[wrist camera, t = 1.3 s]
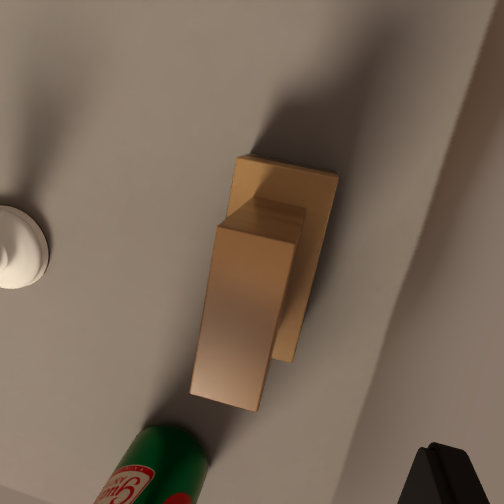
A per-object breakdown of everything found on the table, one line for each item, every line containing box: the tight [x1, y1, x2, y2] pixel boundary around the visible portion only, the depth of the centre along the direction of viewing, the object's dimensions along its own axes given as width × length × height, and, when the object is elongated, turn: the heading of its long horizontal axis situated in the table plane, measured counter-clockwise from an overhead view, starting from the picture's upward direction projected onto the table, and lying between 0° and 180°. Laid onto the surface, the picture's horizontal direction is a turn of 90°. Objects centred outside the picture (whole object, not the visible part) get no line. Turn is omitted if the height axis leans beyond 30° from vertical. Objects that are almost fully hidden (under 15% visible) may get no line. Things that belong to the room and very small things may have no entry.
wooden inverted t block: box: [190, 154, 339, 412], centre depth 17 cm, size 9×4×9 cm, turn 169°
